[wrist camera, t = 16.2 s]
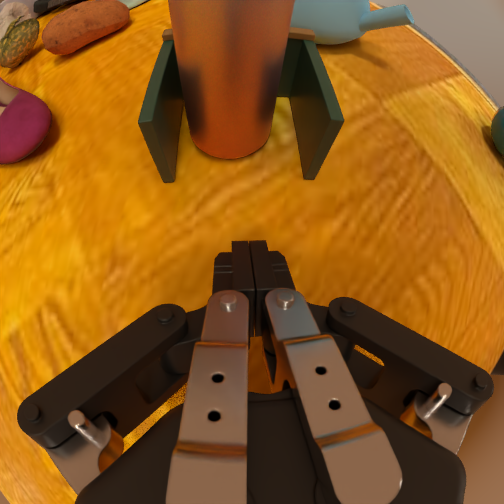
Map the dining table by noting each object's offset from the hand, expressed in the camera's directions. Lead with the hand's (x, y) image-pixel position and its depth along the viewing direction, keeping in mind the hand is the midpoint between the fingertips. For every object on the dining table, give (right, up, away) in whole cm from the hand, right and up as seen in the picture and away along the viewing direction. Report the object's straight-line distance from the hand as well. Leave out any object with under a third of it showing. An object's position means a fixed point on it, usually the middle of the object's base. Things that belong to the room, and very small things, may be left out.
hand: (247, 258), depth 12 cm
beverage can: (-1, +9, +7) cm, 12 cm away
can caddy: (-1, +9, +7) cm, 12 cm away
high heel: (-29, +15, +7) cm, 34 cm away
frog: (-40, +46, +11) cm, 62 cm away
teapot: (+9, +28, +13) cm, 32 cm away
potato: (-23, +30, +11) cm, 39 cm away
